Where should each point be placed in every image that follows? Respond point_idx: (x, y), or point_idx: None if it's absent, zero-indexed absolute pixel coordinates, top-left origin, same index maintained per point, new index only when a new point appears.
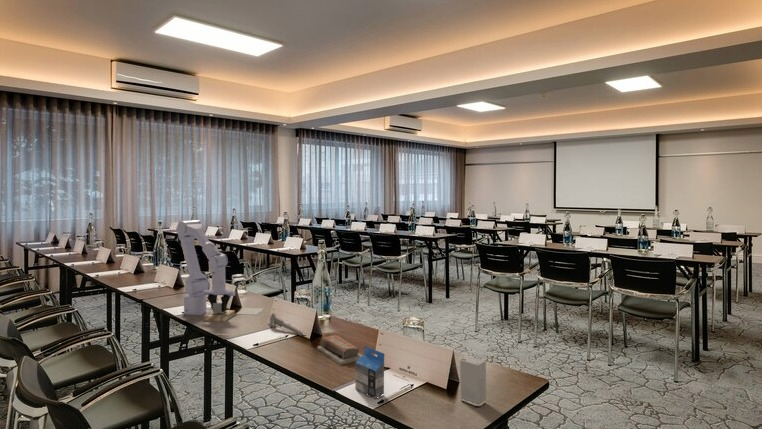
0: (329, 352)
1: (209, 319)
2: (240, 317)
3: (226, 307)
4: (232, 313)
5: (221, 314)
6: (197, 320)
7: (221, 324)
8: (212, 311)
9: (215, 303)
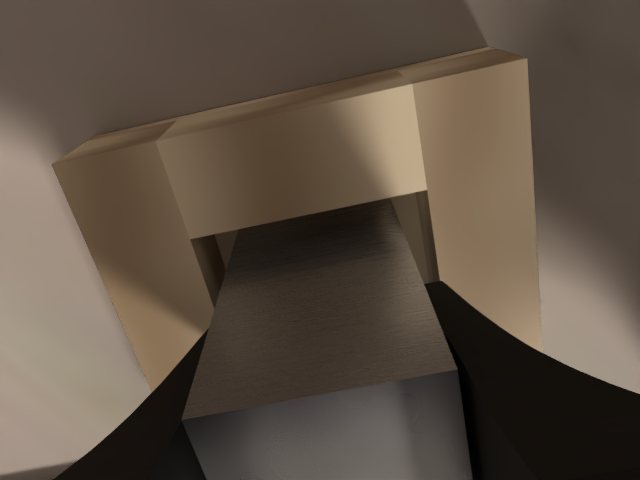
0: None
1: (378, 79)
2: (81, 397)
3: None
4: None
5: (231, 260)
6: (635, 65)
7: (56, 14)
8: None
9: (370, 379)
